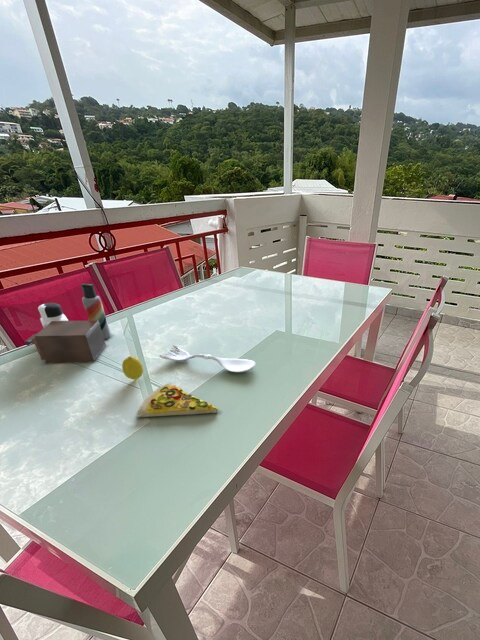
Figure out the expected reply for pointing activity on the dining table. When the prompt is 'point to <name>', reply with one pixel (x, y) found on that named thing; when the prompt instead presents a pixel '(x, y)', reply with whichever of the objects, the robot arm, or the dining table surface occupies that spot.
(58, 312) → the container
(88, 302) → the lotion bottle
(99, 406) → the dining table surface
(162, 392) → the pizza slice
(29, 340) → the drawer
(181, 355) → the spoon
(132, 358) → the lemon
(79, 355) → the cabinet
